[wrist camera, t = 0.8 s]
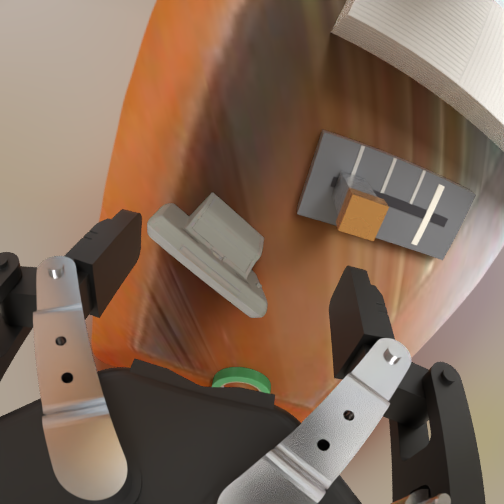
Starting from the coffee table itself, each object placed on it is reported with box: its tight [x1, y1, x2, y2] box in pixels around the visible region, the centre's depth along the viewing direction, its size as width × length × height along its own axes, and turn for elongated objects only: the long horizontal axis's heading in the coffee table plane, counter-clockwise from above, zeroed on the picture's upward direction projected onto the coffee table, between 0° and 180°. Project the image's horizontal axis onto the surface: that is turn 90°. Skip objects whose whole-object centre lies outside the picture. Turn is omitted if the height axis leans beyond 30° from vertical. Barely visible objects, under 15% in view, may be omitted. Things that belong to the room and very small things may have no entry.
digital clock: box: [147, 192, 267, 318], centre depth 37 cm, size 16×9×11 cm, turn 35°
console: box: [297, 129, 475, 260], centre depth 35 cm, size 10×21×2 cm, turn 76°
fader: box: [332, 171, 389, 241], centre depth 30 cm, size 4×4×8 cm
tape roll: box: [212, 367, 271, 394], centre depth 57 cm, size 11×11×3 cm
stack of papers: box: [331, 0, 504, 152], centre depth 22 cm, size 32×11×11 cm, turn 67°
